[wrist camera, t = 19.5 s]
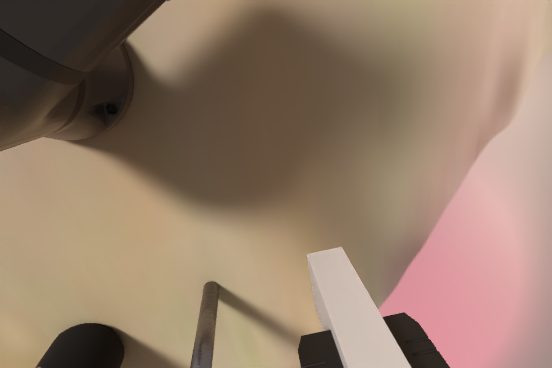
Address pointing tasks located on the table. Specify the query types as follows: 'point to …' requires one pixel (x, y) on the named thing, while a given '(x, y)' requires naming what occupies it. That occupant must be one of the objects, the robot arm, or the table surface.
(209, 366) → the post
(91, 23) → the robot arm
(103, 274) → the table surface
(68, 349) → the coffee jar
